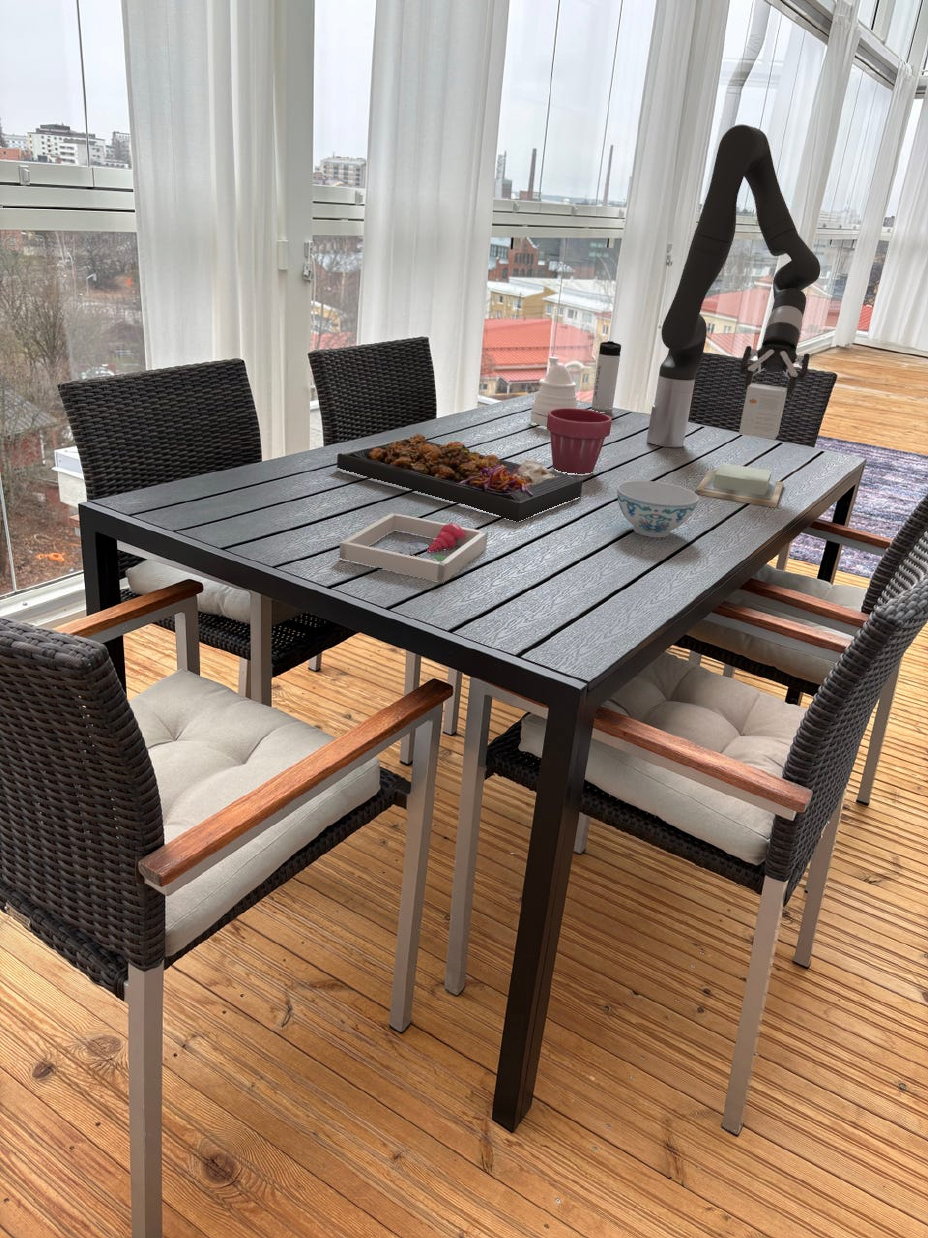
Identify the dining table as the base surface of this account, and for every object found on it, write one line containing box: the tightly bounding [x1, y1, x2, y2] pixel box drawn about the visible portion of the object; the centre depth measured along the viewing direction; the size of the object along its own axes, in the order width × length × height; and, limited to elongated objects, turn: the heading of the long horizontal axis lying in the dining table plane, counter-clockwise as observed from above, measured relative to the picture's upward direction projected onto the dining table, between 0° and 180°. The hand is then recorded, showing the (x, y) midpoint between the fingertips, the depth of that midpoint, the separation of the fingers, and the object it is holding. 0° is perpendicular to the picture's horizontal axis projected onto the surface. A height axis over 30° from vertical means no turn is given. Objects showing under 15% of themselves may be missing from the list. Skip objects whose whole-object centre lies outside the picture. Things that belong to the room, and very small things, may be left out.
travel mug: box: [590, 340, 622, 414], centre depth 279 cm, size 6×7×20 cm
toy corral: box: [338, 512, 489, 584], centre depth 156 cm, size 18×19×3 cm
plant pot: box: [547, 408, 613, 474], centre depth 213 cm, size 14×14×13 cm
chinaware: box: [616, 480, 700, 538], centre depth 177 cm, size 15×15×8 cm
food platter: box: [336, 433, 584, 523], centre depth 196 cm, size 45×25×10 cm, turn 55°
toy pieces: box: [409, 523, 466, 561], centre depth 158 cm, size 12×11×4 cm
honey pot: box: [529, 356, 580, 427], centre depth 256 cm, size 13×13×18 cm
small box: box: [738, 382, 788, 440], centre depth 207 cm, size 8×6×10 cm
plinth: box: [713, 462, 773, 495], centre depth 211 cm, size 11×12×3 cm
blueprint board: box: [694, 469, 785, 509], centre depth 212 cm, size 17×20×1 cm
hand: (768, 391), depth 208 cm, fingers closed on small box, 8 cm apart
